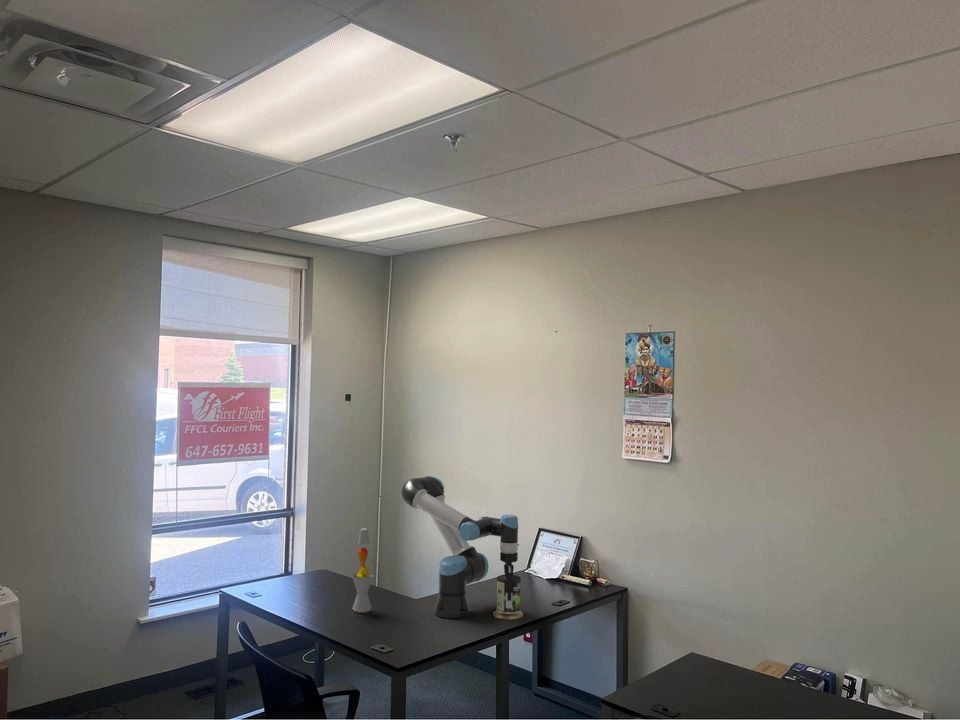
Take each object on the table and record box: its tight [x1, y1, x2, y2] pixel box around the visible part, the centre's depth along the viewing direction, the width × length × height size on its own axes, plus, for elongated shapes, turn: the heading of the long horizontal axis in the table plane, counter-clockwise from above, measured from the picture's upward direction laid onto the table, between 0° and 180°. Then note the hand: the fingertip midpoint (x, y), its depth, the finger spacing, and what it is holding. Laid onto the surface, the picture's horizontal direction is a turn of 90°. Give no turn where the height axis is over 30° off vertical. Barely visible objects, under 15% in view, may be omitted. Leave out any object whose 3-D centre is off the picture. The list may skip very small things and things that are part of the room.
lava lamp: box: [351, 527, 374, 612], centre depth 302 cm, size 9×9×35 cm
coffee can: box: [496, 574, 522, 614], centre depth 300 cm, size 10×10×14 cm
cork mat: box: [492, 609, 524, 621], centre depth 299 cm, size 13×13×1 cm
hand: (508, 604), depth 300 cm, fingers closed on coffee can, 10 cm apart
